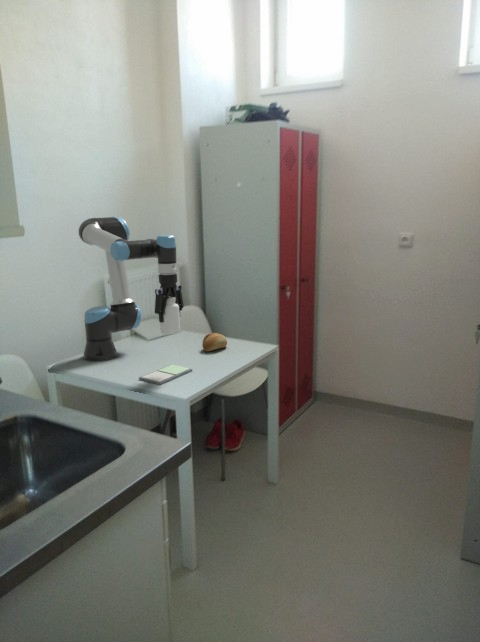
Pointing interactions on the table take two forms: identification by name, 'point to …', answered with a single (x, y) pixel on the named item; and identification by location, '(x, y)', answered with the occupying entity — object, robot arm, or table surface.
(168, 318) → the pill bottle
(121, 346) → the table surface
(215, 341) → the bread roll
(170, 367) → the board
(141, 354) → the table surface
